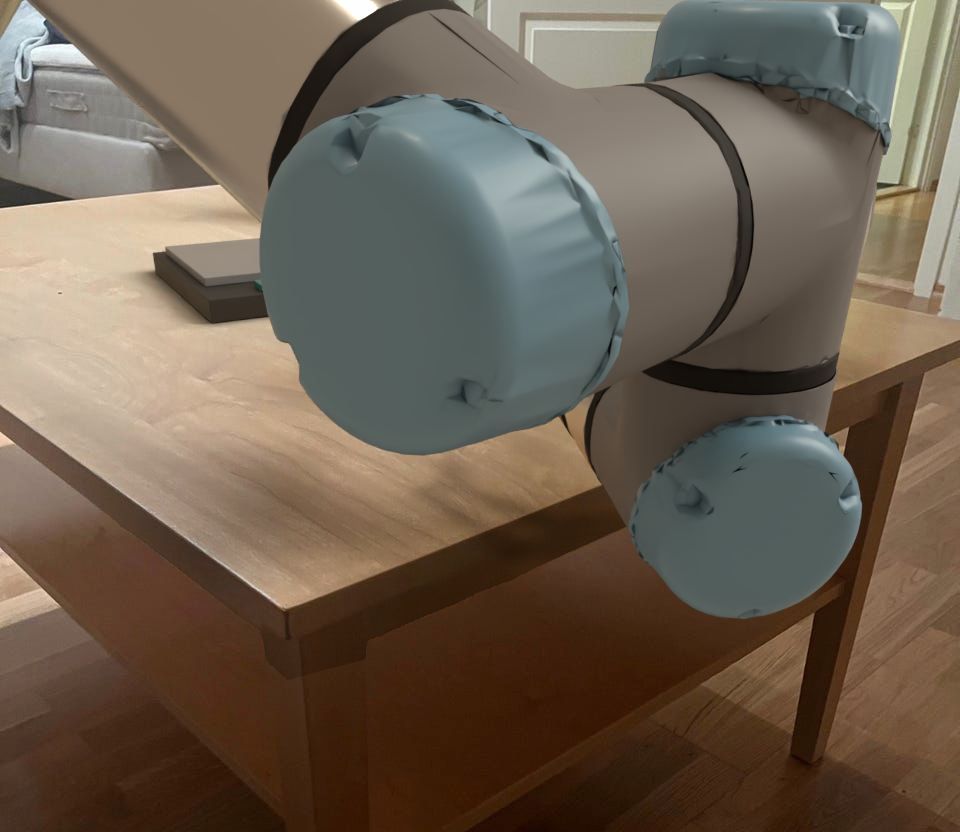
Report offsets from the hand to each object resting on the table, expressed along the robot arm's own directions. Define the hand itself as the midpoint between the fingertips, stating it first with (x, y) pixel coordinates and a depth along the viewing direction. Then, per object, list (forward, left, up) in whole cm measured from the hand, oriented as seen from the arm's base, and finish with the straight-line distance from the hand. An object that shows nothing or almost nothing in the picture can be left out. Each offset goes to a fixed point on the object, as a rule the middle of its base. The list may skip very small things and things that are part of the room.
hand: (544, 280), depth 64 cm
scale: (-43, -5, -10) cm, 45 cm away
